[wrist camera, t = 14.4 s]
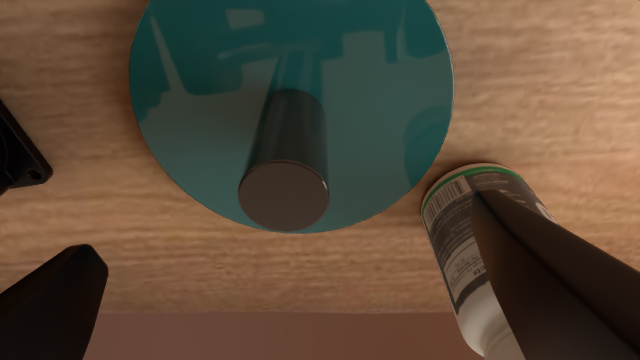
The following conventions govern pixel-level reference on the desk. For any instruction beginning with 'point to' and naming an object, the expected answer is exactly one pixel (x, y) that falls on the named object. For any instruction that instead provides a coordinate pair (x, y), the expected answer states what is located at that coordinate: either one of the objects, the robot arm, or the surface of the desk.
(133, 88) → the lid
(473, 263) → the pill bottle
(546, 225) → the robot arm
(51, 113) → the desk surface
